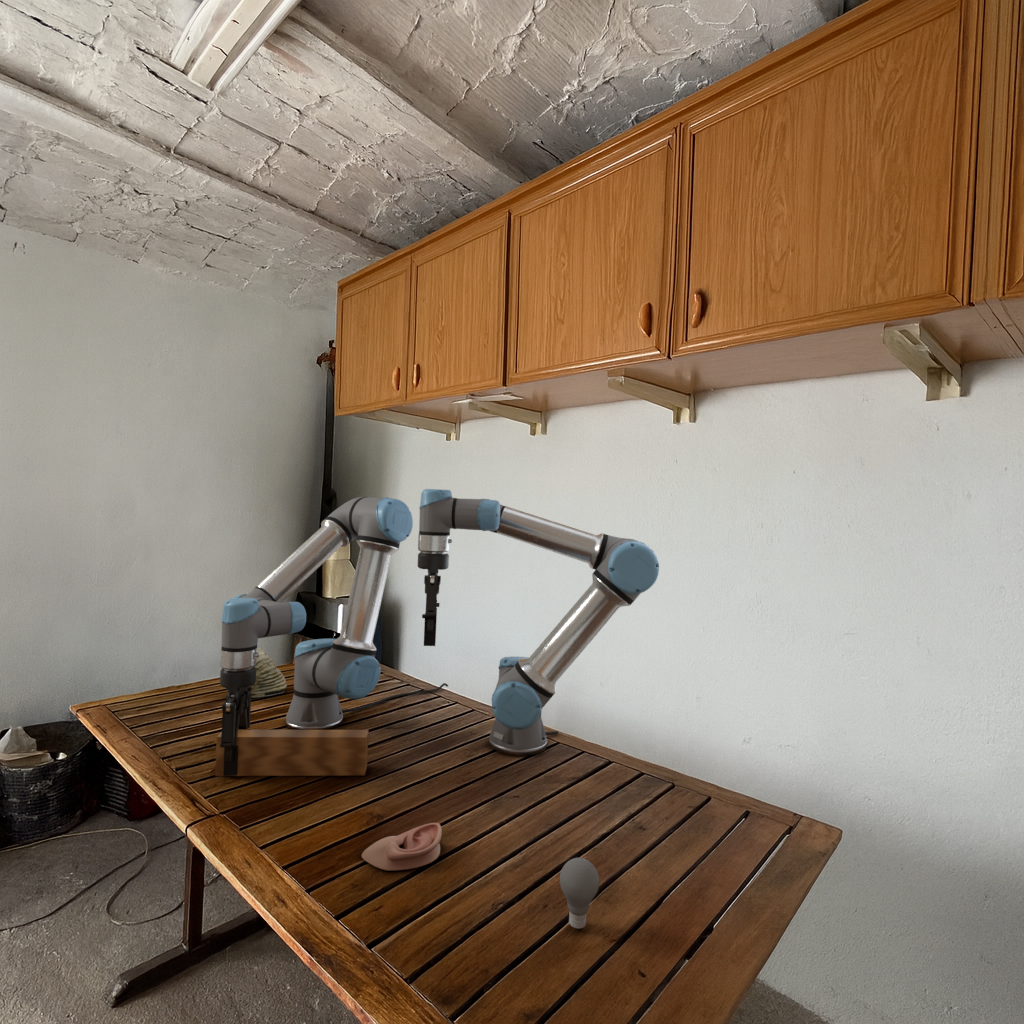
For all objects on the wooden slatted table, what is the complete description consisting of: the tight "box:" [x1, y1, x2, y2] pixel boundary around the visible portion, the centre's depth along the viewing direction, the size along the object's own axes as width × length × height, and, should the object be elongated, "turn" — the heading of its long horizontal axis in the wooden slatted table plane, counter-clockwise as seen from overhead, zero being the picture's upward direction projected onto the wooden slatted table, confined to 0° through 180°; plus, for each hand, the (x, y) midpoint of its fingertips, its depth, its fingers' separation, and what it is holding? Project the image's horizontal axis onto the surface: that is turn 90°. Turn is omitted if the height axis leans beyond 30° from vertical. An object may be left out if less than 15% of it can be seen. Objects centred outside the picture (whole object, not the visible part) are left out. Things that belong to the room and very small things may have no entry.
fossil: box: [224, 647, 288, 699], centre depth 198 cm, size 9×18×15 cm, turn 132°
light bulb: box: [559, 857, 600, 929], centre depth 96 cm, size 6×6×10 cm
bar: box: [214, 729, 370, 777], centre depth 145 cm, size 33×5×9 cm, turn 96°
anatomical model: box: [361, 822, 443, 872], centre depth 114 cm, size 13×4×12 cm
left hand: (235, 768), depth 144 cm, fingers open, 6 cm apart
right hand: (430, 639), depth 155 cm, fingers open, 13 cm apart
